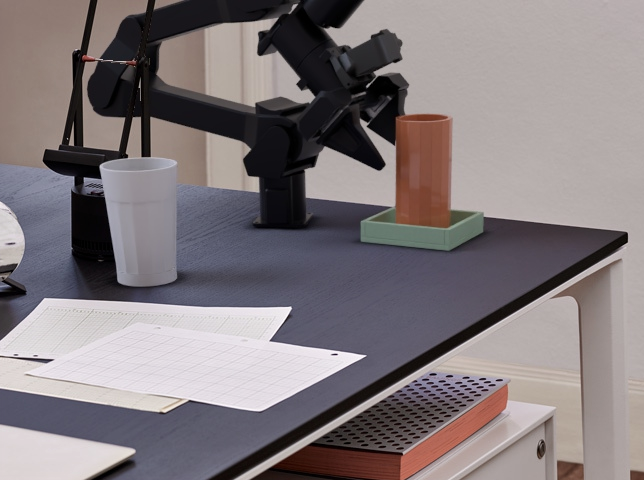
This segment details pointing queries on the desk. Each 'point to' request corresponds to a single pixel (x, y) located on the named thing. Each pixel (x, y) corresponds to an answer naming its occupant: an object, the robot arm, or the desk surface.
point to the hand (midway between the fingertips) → (400, 161)
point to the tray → (422, 230)
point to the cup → (142, 218)
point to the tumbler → (423, 170)
